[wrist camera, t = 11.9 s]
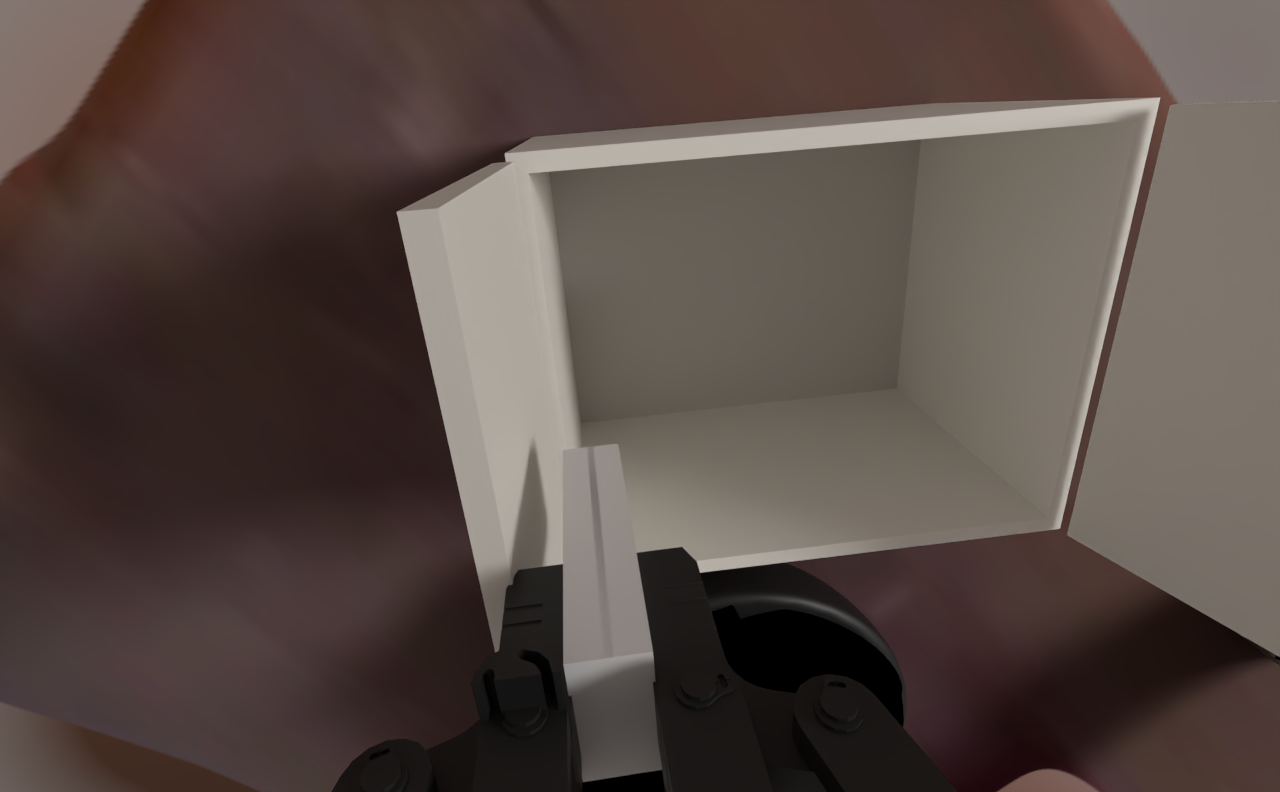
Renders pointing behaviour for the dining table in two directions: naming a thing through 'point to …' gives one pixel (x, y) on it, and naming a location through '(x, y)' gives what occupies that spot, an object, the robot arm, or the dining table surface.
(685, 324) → the carton
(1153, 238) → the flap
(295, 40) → the dining table surface
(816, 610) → the bowl of black rocks
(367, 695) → the dining table surface
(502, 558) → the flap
